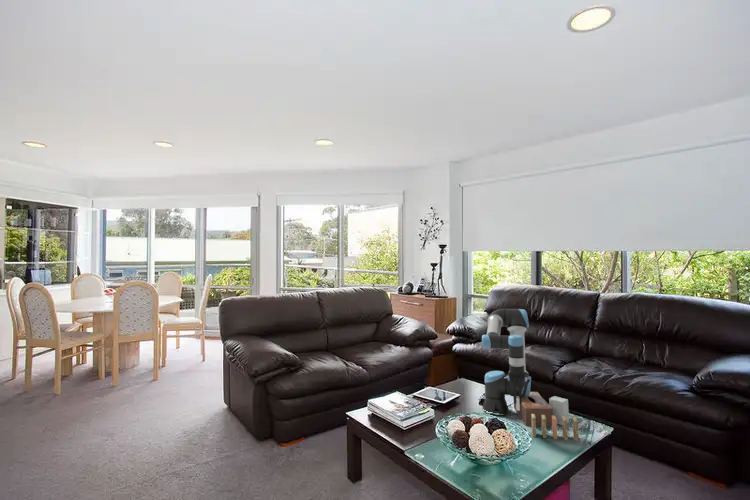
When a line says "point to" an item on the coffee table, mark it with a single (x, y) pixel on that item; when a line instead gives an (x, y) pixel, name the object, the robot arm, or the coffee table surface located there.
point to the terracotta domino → (554, 427)
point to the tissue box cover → (534, 409)
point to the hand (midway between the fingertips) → (518, 409)
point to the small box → (559, 408)
